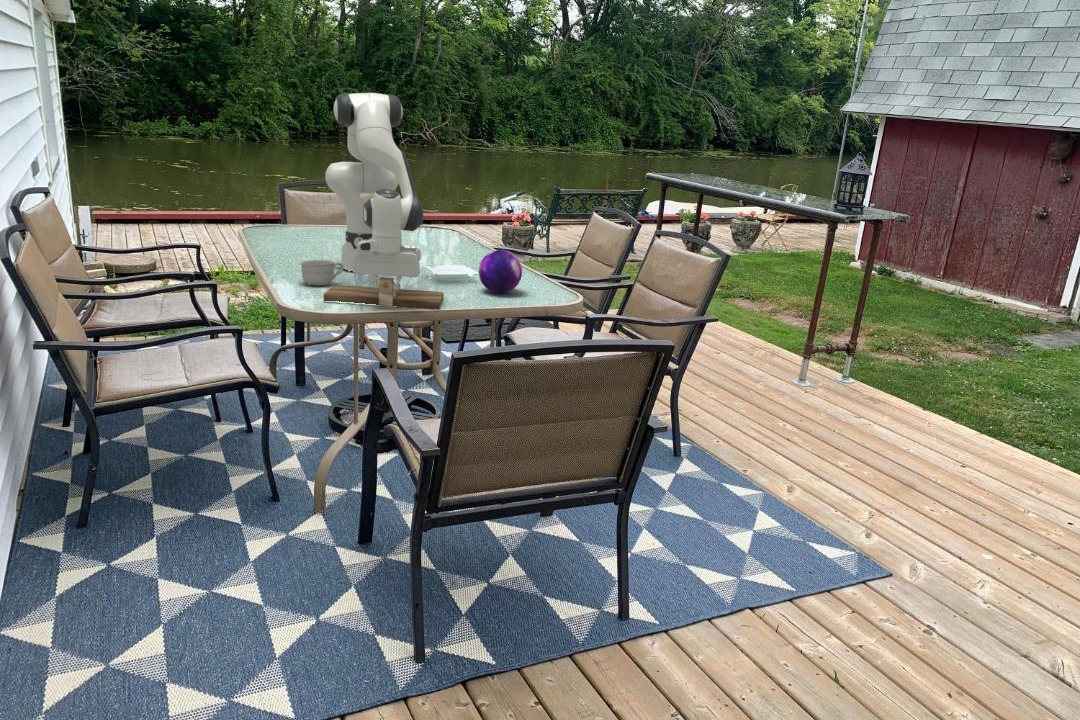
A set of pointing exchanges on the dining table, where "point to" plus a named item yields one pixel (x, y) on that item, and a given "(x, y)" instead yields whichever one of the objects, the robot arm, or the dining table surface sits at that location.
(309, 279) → the teacup
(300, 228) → the dining table surface
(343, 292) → the oak plank
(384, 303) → the marking gauge
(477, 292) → the dining table surface
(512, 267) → the decorative orb
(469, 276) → the dining table surface
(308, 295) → the dining table surface
